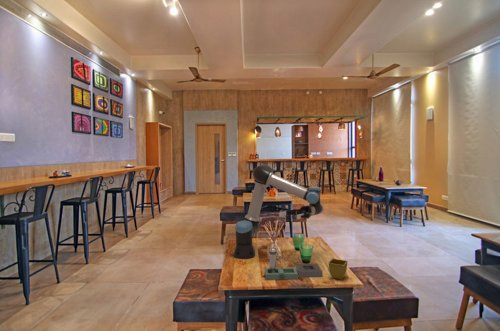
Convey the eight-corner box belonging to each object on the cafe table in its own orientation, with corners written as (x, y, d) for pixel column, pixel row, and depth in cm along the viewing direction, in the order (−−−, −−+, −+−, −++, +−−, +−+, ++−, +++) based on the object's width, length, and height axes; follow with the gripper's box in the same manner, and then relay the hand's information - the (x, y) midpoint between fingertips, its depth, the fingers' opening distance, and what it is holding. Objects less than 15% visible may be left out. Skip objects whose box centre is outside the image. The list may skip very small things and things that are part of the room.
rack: (264, 273, 178) (264, 268, 178) (294, 272, 178) (294, 267, 178) (265, 279, 168) (265, 274, 168) (297, 279, 168) (297, 273, 168)
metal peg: (269, 274, 175) (268, 247, 175) (276, 274, 175) (275, 247, 175) (269, 277, 171) (269, 249, 170) (277, 277, 171) (276, 249, 170)
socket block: (295, 268, 184) (295, 264, 184) (316, 268, 184) (316, 263, 184) (299, 277, 171) (299, 272, 171) (322, 276, 171) (322, 271, 171)
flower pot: (332, 273, 176) (332, 258, 175) (347, 276, 171) (347, 260, 171) (328, 278, 168) (328, 262, 168) (344, 281, 164) (343, 265, 163)
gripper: (323, 219, 193) (305, 224, 177) (292, 214, 210) (272, 219, 195) (323, 207, 192) (305, 212, 177) (291, 203, 210) (272, 207, 195)
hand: (288, 216), depth 186 cm, fingers open, 13 cm apart
